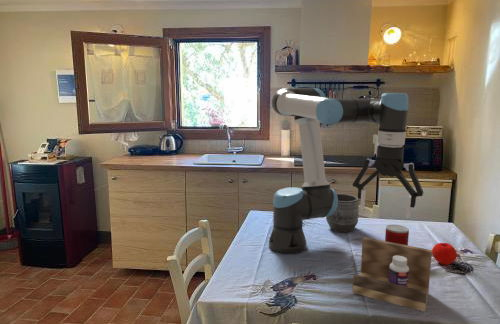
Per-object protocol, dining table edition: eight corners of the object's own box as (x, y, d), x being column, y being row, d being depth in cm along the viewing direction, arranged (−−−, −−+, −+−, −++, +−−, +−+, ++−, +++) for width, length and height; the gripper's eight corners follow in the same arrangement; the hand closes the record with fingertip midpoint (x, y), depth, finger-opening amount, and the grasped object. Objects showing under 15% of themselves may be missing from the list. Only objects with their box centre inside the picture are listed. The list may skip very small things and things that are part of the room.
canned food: (408, 260, 130) (411, 232, 128) (386, 258, 131) (387, 230, 130) (404, 252, 137) (406, 225, 135) (382, 250, 139) (384, 223, 137)
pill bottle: (398, 295, 102) (401, 263, 100) (384, 286, 107) (385, 256, 105) (411, 290, 105) (413, 259, 103) (396, 282, 109) (398, 252, 108)
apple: (435, 256, 134) (437, 237, 132) (458, 262, 128) (460, 243, 127) (427, 262, 128) (429, 243, 127) (451, 270, 122) (453, 250, 121)
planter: (324, 222, 171) (325, 192, 168) (355, 224, 169) (356, 193, 166) (326, 233, 157) (328, 201, 154) (360, 235, 155) (361, 202, 152)
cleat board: (352, 292, 108) (354, 249, 106) (361, 277, 118) (363, 237, 115) (424, 312, 98) (429, 264, 96) (428, 293, 108) (432, 250, 105)
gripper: (345, 143, 109) (341, 208, 113) (436, 151, 96) (427, 224, 100) (352, 140, 115) (347, 202, 119) (438, 147, 103) (430, 216, 107)
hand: (384, 212), depth 110 cm, fingers open, 13 cm apart
